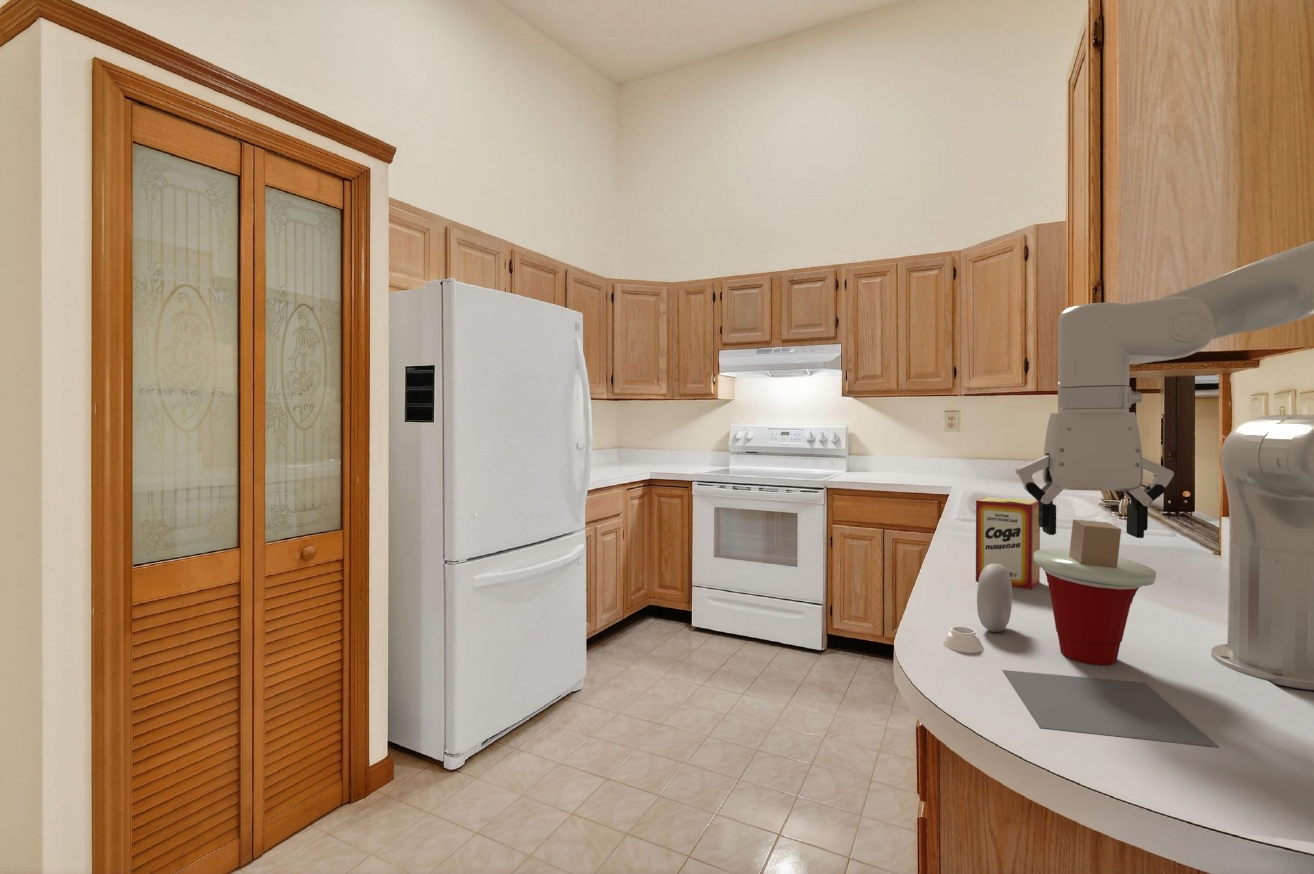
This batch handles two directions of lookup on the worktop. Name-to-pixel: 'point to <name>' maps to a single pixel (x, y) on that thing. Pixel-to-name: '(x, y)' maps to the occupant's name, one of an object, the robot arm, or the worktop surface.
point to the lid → (1095, 557)
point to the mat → (1103, 708)
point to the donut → (994, 597)
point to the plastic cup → (1089, 617)
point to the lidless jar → (963, 640)
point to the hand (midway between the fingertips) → (1091, 534)
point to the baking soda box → (1008, 538)
